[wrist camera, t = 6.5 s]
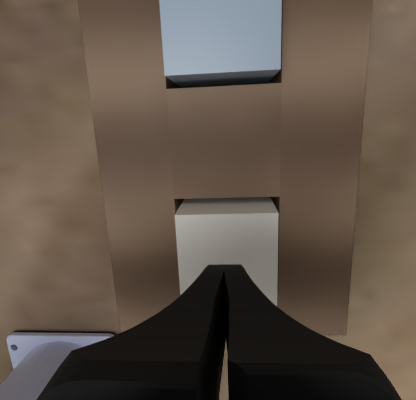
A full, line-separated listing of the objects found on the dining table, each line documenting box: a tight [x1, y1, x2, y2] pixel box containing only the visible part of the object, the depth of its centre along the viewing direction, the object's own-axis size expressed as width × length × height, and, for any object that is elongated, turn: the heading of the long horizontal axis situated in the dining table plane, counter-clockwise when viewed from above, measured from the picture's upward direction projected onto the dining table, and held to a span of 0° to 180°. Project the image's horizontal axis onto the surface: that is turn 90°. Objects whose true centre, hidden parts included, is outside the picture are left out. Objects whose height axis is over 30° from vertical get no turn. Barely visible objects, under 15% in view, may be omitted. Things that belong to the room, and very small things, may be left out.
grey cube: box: [159, 0, 282, 87], centre depth 13 cm, size 4×4×4 cm
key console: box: [78, 0, 373, 335], centre depth 16 cm, size 20×12×4 cm, turn 2°
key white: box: [175, 197, 279, 306], centre depth 15 cm, size 4×4×4 cm
